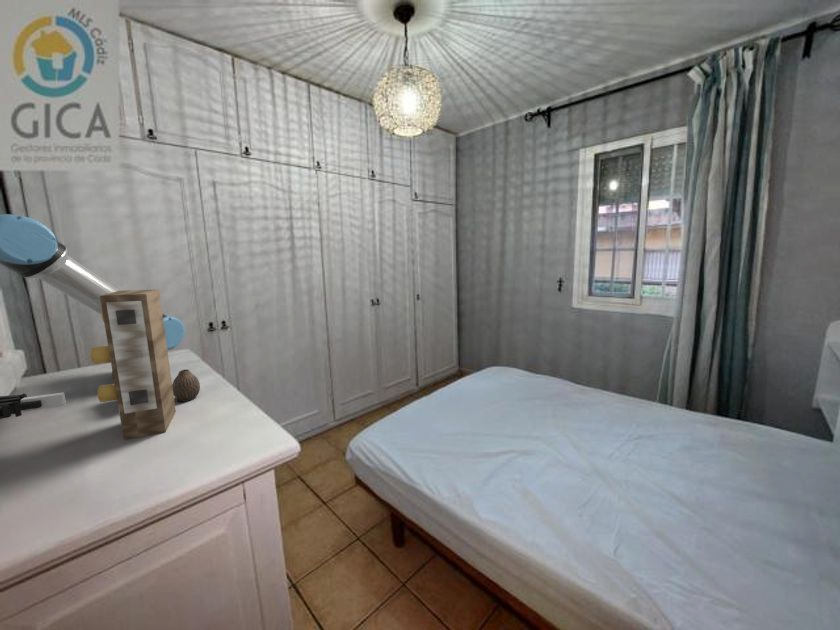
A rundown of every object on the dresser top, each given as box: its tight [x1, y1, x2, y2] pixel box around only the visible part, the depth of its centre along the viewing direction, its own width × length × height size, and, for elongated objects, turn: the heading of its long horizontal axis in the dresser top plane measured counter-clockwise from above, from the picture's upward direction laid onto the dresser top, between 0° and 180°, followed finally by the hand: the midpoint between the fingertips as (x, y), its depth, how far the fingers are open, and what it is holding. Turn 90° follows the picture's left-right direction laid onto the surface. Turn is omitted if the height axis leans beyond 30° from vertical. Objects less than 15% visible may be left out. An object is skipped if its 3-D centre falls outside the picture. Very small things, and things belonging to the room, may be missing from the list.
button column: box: [100, 288, 177, 441], centre depth 82 cm, size 8×13×34 cm, turn 26°
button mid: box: [90, 345, 111, 365], centre depth 79 cm, size 4×4×4 cm
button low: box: [97, 383, 117, 403], centre depth 80 cm, size 4×4×4 cm
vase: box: [172, 369, 201, 402], centre depth 100 cm, size 7×7×9 cm
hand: (63, 399), depth 77 cm, fingers closed
